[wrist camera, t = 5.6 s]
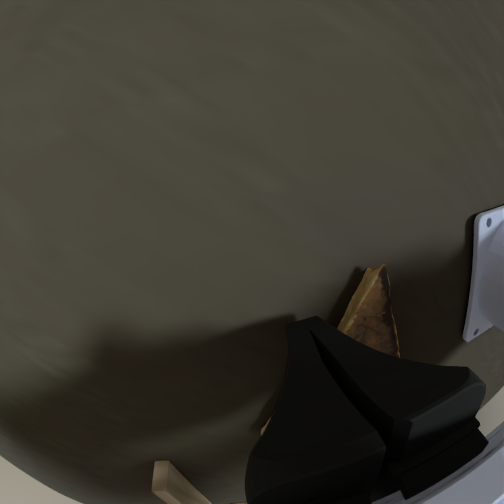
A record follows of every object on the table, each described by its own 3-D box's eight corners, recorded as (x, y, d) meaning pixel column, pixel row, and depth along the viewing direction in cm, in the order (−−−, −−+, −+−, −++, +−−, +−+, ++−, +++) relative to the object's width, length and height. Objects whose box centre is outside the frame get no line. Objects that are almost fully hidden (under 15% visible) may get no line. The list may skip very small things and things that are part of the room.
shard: (367, 252, 12) (389, 266, 10) (453, 305, 13) (472, 319, 12) (252, 422, 14) (256, 446, 12) (351, 435, 16) (360, 454, 14)
